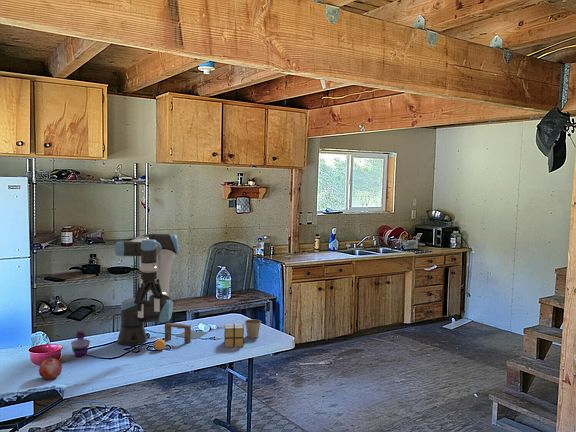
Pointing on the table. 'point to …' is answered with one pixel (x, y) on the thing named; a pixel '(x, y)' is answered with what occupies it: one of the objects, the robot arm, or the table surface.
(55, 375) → the fruit
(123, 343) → the robot arm
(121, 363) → the table surface
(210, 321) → the table surface
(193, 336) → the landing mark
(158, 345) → the ball
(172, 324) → the bridge
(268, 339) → the table surface
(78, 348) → the potion bottle
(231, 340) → the puzzle cube
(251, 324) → the flower pot
